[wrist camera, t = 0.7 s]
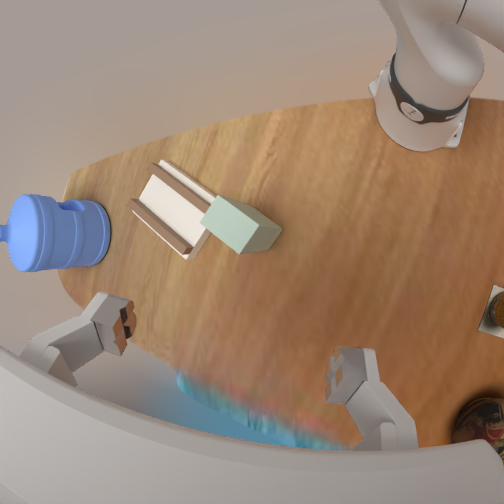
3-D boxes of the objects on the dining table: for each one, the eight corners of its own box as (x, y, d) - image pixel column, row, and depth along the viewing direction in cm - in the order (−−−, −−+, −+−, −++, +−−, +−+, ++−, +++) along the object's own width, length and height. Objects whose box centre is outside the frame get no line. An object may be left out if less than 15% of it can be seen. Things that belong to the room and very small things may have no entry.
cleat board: (170, 162, 57) (154, 156, 51) (228, 205, 53) (215, 201, 48) (141, 212, 59) (124, 210, 54) (194, 258, 56) (178, 260, 50)
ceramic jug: (446, 456, 41) (472, 558, 12) (438, 406, 42) (480, 519, 13) (511, 421, 35) (563, 503, 7) (510, 367, 37) (586, 445, 8)
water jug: (118, 255, 62) (10, 263, 35) (79, 272, 67) (-15, 284, 40) (105, 190, 63) (3, 175, 36) (68, 215, 67) (-22, 210, 41)
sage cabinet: (247, 203, 52) (213, 191, 39) (283, 229, 50) (259, 225, 37) (233, 224, 53) (195, 219, 40) (267, 250, 51) (239, 254, 38)
